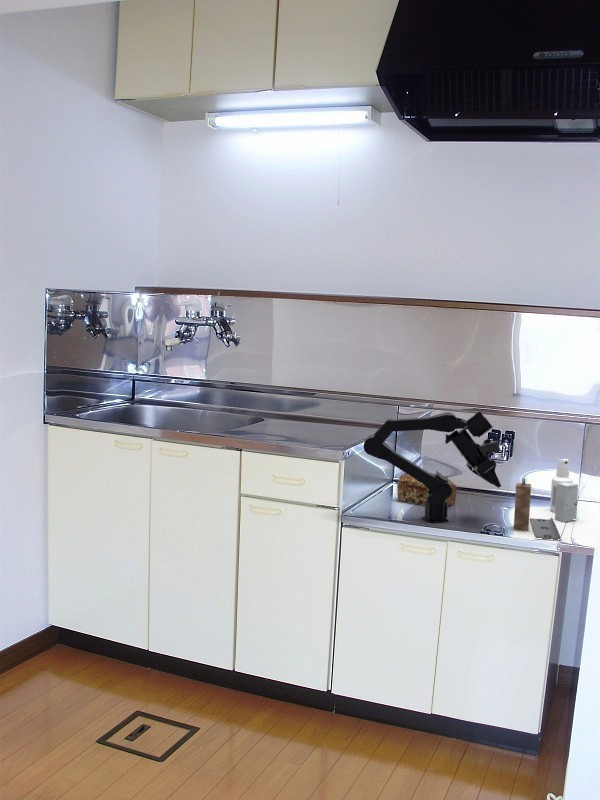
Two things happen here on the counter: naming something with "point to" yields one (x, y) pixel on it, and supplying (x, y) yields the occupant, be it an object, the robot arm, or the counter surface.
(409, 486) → the bread
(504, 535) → the counter surface
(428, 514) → the robot arm
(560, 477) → the spray bottle
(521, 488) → the post
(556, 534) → the flange strip
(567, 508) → the skincare box
